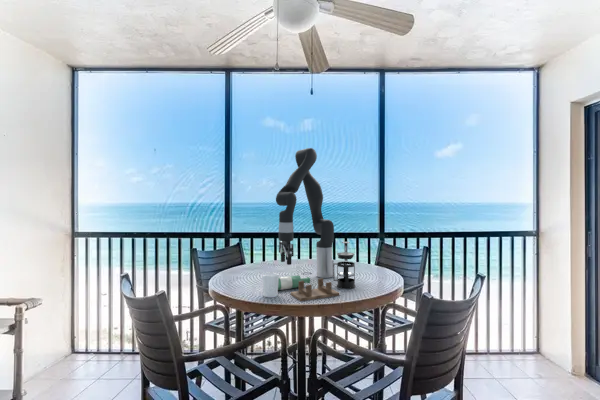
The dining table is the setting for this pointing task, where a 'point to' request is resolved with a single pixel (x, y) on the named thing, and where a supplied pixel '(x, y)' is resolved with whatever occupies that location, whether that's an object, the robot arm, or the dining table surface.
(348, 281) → the french press
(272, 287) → the white cup
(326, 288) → the bottle rest
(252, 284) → the dining table surface
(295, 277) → the green bottle
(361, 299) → the dining table surface
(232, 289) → the dining table surface
